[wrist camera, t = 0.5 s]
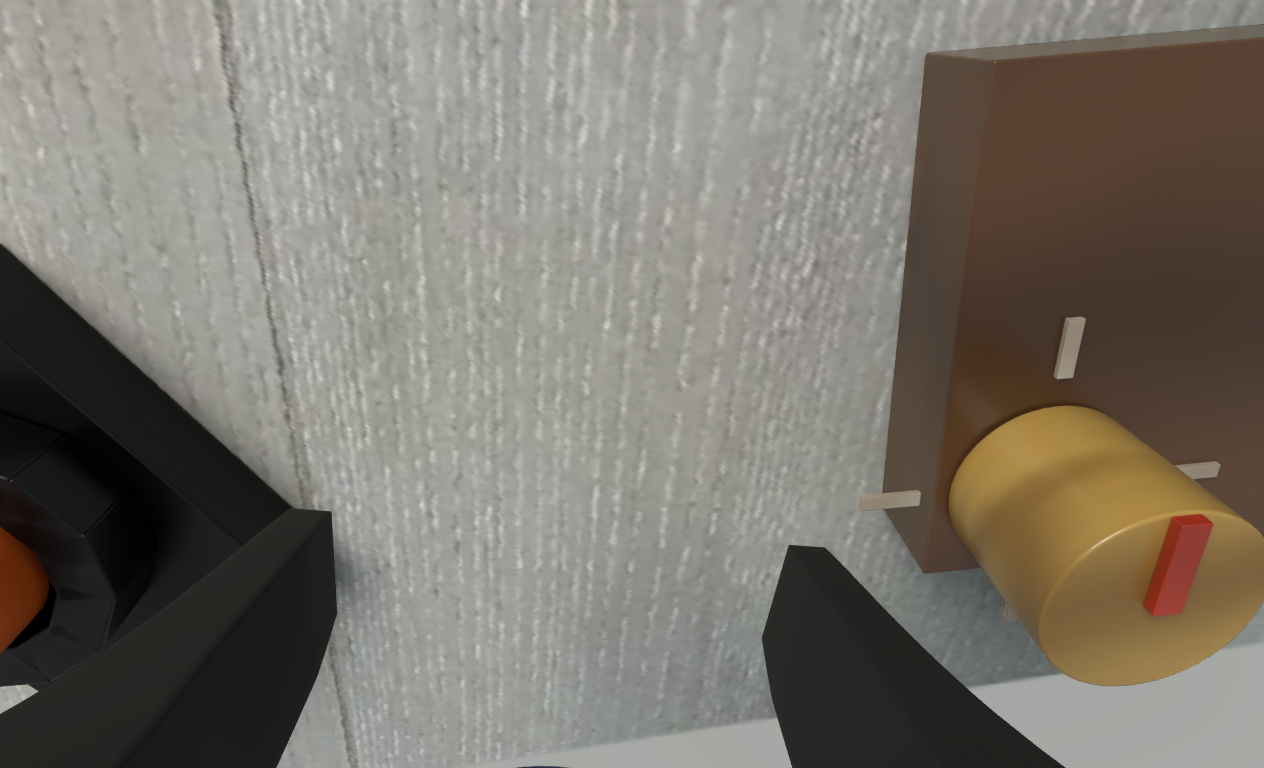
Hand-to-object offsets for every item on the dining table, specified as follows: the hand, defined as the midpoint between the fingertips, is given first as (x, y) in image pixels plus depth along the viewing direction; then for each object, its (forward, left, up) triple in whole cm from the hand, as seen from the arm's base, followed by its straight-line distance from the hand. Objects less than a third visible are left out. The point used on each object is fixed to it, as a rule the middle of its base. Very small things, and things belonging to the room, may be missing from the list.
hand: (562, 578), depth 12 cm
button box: (-2, +14, -8) cm, 16 cm away
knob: (-3, -11, -5) cm, 12 cm away
